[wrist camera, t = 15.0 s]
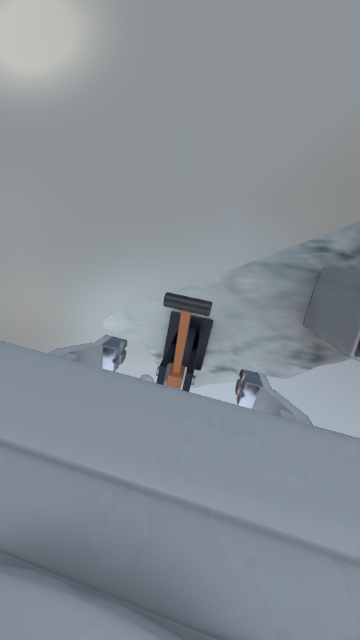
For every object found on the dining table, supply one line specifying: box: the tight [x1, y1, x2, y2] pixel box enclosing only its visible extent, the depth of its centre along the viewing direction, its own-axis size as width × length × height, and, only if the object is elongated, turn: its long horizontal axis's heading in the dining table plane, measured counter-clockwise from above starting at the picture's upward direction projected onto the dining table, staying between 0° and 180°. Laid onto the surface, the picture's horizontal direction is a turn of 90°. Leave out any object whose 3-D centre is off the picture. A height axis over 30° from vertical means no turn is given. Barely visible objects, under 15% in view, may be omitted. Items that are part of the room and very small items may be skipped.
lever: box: [163, 292, 212, 389], centre depth 25 cm, size 16×5×2 cm, turn 170°
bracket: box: [156, 311, 213, 392], centre depth 35 cm, size 12×9×16 cm
